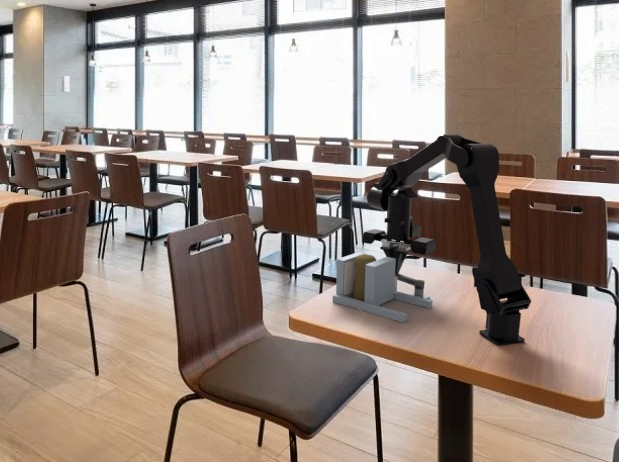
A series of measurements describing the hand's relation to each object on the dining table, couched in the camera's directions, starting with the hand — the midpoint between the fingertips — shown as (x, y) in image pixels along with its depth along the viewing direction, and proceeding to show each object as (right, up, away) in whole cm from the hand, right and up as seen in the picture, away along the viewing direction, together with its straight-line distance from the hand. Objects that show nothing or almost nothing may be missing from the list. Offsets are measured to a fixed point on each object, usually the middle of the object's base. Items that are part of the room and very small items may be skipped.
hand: (396, 273), depth 138 cm
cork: (-9, -6, -8) cm, 13 cm away
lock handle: (+1, -2, -4) cm, 4 cm away
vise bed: (-4, -6, -9) cm, 11 cm away
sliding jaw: (-6, -6, -10) cm, 13 cm away
